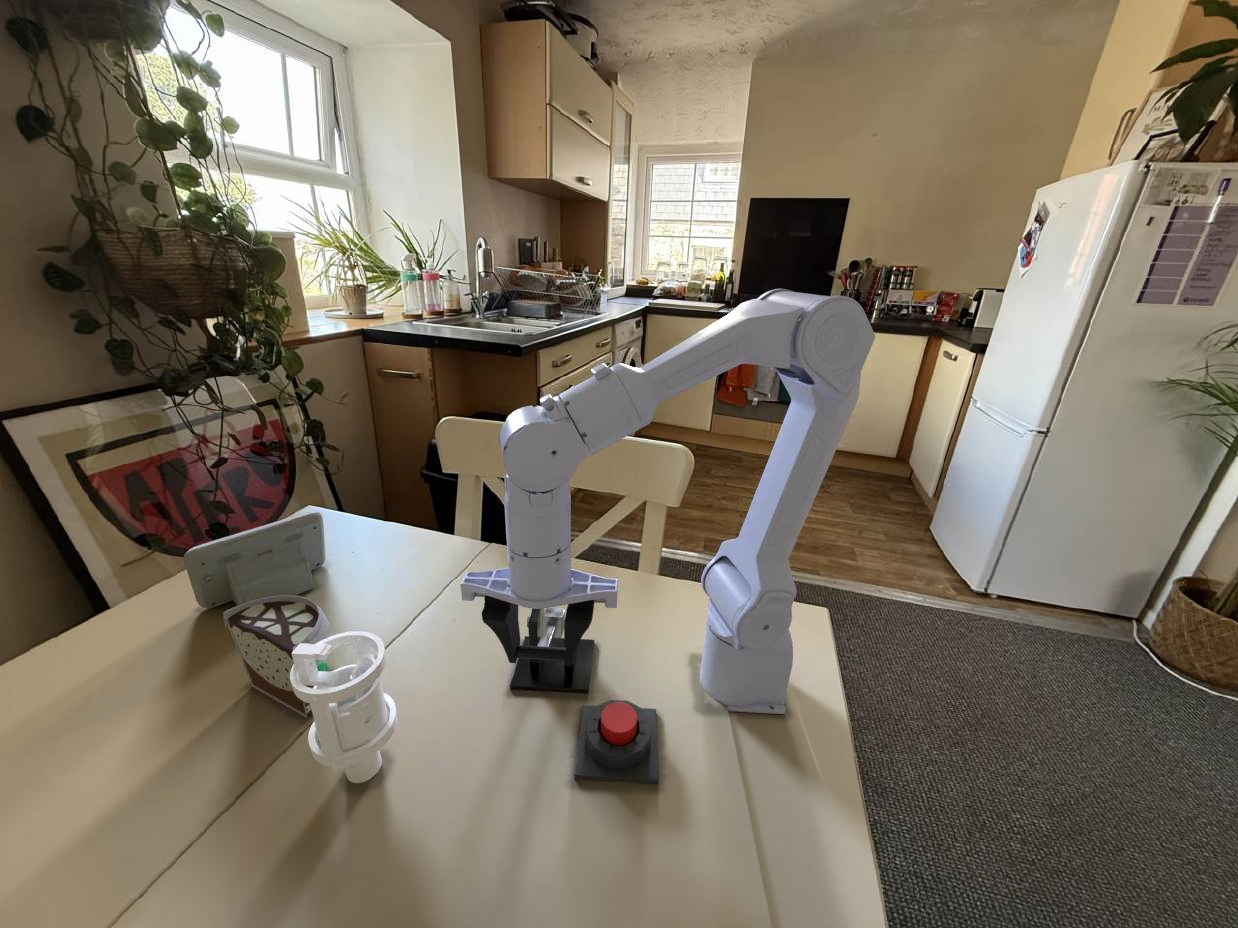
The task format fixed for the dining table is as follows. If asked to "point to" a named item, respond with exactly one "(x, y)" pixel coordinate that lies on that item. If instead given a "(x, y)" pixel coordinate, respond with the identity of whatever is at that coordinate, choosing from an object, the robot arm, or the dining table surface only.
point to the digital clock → (258, 562)
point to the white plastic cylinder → (346, 704)
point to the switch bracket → (552, 664)
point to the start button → (618, 723)
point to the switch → (547, 638)
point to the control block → (617, 749)
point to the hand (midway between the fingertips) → (542, 657)
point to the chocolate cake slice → (276, 642)
